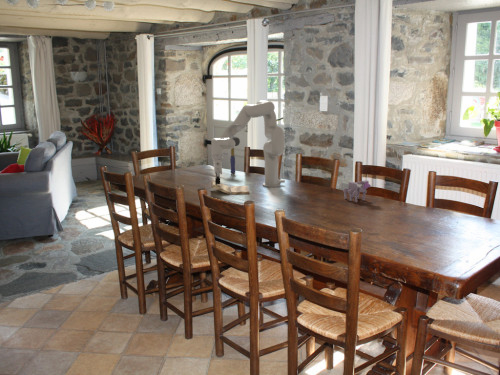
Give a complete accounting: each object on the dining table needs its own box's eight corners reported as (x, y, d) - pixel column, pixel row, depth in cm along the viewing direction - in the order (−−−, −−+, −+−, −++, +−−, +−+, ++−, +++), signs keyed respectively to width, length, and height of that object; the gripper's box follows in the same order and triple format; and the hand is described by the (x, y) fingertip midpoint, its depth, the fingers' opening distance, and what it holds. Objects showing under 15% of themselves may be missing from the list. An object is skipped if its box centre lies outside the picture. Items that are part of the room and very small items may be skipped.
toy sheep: (377, 202, 299) (377, 180, 295) (364, 206, 293) (364, 183, 290) (353, 196, 315) (353, 175, 312) (341, 199, 310) (340, 178, 307)
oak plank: (227, 188, 343) (228, 186, 343) (229, 194, 325) (230, 192, 325) (210, 181, 341) (211, 179, 340) (211, 187, 323) (212, 185, 323)
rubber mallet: (241, 174, 392) (240, 136, 386) (233, 175, 388) (232, 137, 381) (232, 172, 402) (231, 135, 396) (224, 173, 398) (223, 136, 391)
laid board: (246, 187, 344) (246, 185, 344) (249, 193, 327) (249, 191, 326) (228, 188, 343) (228, 186, 343) (230, 194, 325) (230, 192, 325)
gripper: (223, 158, 321) (223, 186, 325) (222, 155, 336) (222, 181, 340) (212, 158, 321) (212, 186, 325) (211, 155, 335) (211, 181, 339)
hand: (217, 183), depth 332 cm, fingers closed
